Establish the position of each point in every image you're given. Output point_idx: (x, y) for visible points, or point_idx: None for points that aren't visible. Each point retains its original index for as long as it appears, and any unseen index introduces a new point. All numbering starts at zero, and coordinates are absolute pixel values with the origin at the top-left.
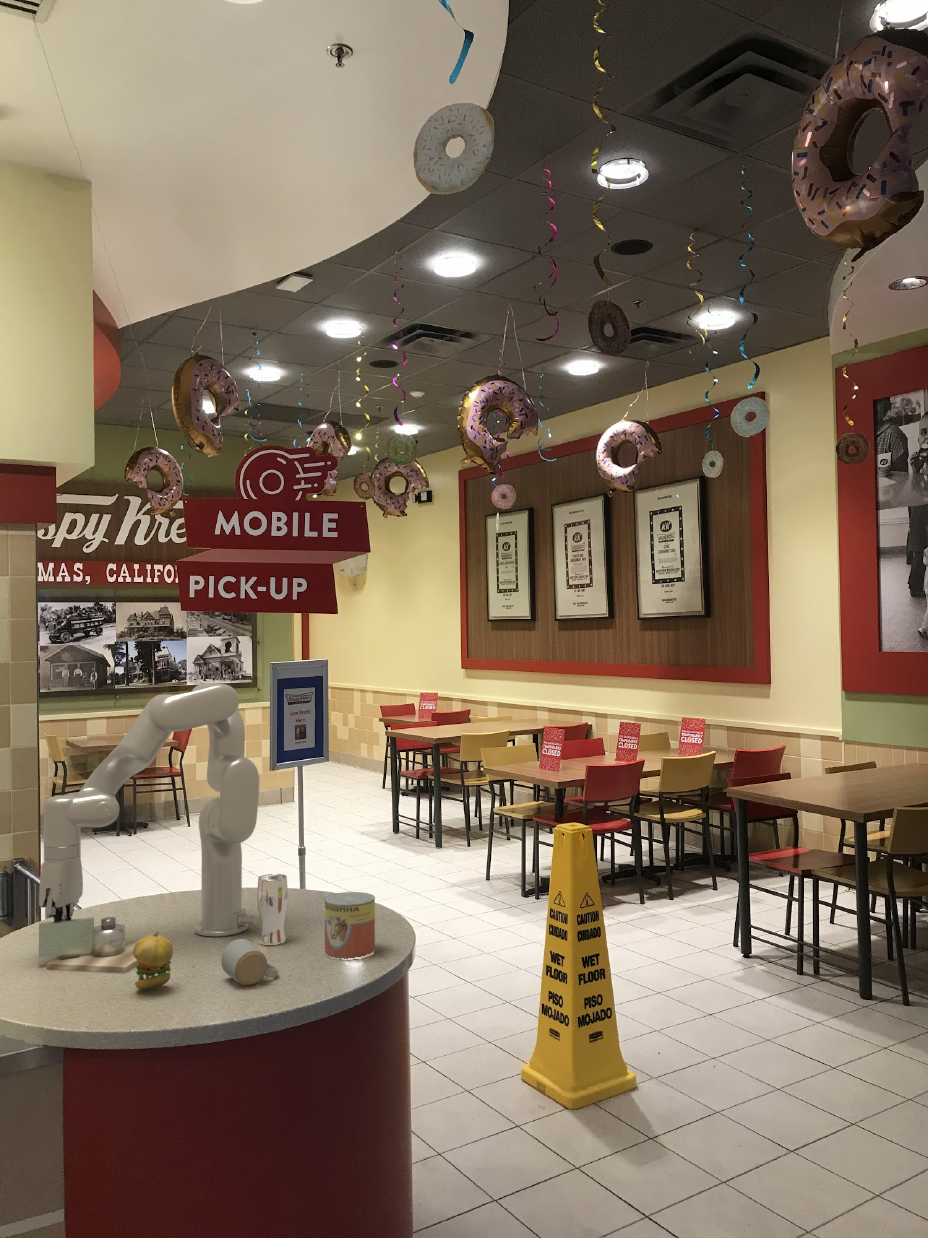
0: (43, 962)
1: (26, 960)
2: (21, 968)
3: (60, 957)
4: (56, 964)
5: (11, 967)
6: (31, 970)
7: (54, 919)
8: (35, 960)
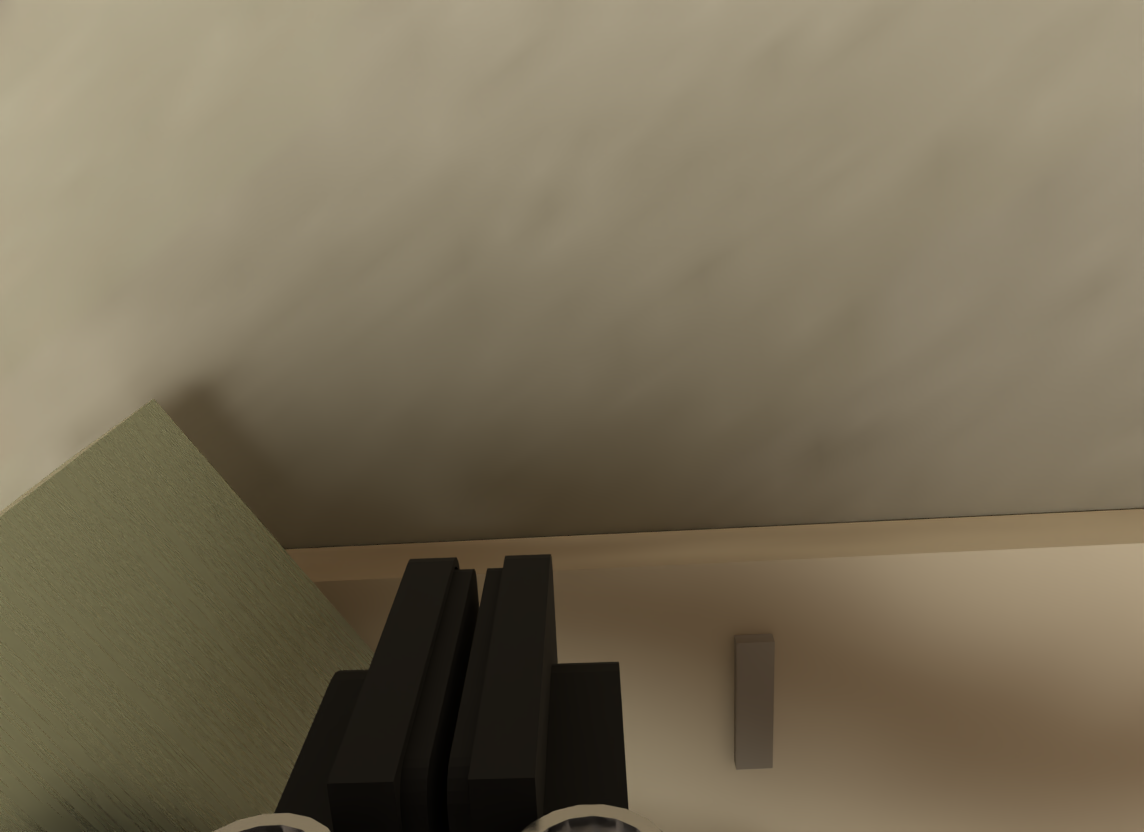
0: (333, 335)
1: (346, 16)
2: (23, 201)
3: (340, 609)
4: None
5: (3, 14)
6: (9, 392)
7: (330, 785)
8: (380, 160)
